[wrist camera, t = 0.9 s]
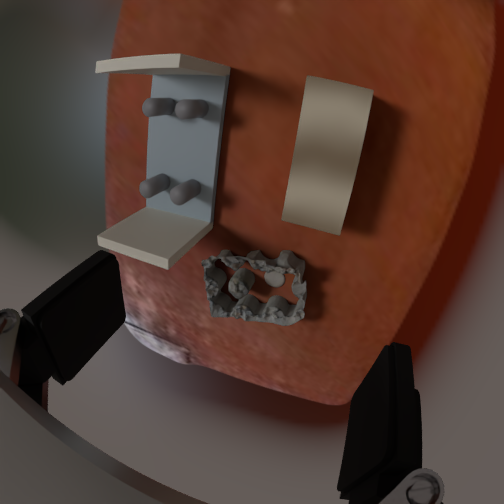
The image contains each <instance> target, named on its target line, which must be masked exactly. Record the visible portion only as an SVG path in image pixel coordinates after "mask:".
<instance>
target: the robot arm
mask: <svg viewBox="0 0 504 504" xmlns="http://www.w3.org/2000/svg"><path fill="white" fill-rule="evenodd" d="M21 311H22V313H23V317H20V315H19V313H18V312H17V311H16V310H14V309H9V308H7V309H2V310H0V504H208V503H206V502H203V501H200V500H198V499H195V498H193V497H190V496H188V495H185V494H183V493H181V492H178V491H176V490H174V489H172V488H170V487H167V486H165V485H163V484H161V483H159V482H157V481H155V480H153V479H151V478H149V477H147V476H145V475H143V474H141V473H139V472H137V471H135V470H134V469H132V468H130V467H128V466H126V465H125V464H123V463H121V462H119V461H118V460H116V459H114V458H113V457H111V456H109V455H108V454H106V453H104V452H103V451H101V450H100V449H98V448H97V447H95V446H94V445H92V444H90V443H89V442H87V441H86V440H84V439H83V438H82V437H80V436H79V435H77V434H76V433H74V432H73V431H72V430H70V429H69V428H68V427H66V426H65V425H64V424H62V423H61V422H60V421H58V420H57V419H56V418H54V417H53V416H52V415H51V414H49V413H48V379H49V378H50V377H51V376H52V377H53V379H55V380H56V381H57V382H59V383H60V384H62V385H64V384H65V383H66V381H70V380H72V379H73V378H74V377H75V375H76V374H77V373H78V372H79V371H80V370H81V369H82V368H83V367H84V365H85V364H86V363H87V362H88V361H89V360H90V359H91V358H92V357H93V355H94V354H95V353H96V352H97V351H98V350H99V349H100V348H101V347H102V346H103V345H104V344H105V342H106V341H107V340H108V339H109V338H110V337H111V336H112V335H113V334H114V333H115V332H116V331H117V330H118V329H119V328H120V326H121V325H122V324H123V323H124V321H125V318H126V313H125V307H124V300H123V293H122V286H121V279H120V270H119V263H118V261H117V260H116V257H115V255H113V254H111V253H108V252H106V251H103V250H100V251H98V252H96V253H95V254H93V255H92V256H91V257H90V258H88V259H86V260H85V261H84V262H82V263H81V264H80V265H78V266H77V267H75V268H74V269H73V270H71V271H70V272H69V273H67V274H66V275H65V276H63V277H62V278H61V279H59V280H58V281H57V282H55V283H54V284H53V285H52V286H51V287H49V288H48V289H46V290H45V291H44V292H43V293H41V294H40V295H39V296H38V297H36V298H35V299H34V300H33V301H32V302H30V303H29V304H28V305H27V306H25V307H24V308H23V309H22V310H21ZM337 490H338V491H341V495H340V499H346V500H349V504H443V503H442V500H443V496H444V484H443V481H442V479H441V478H440V476H439V475H438V474H437V473H436V472H434V471H433V470H430V469H427V468H424V469H422V421H421V404H420V394H419V392H418V390H416V389H415V388H414V377H413V365H412V356H411V349H410V347H409V346H408V345H404V344H399V343H395V342H393V343H391V345H390V346H388V345H385V346H384V348H383V349H382V351H381V353H380V354H379V356H378V358H377V359H376V361H375V362H374V364H373V366H372V367H371V369H370V370H369V372H368V373H367V375H366V377H365V378H364V380H363V381H362V383H361V384H360V386H359V387H358V389H357V390H356V391H355V393H354V395H353V397H352V400H351V405H350V414H349V421H348V428H347V435H346V441H345V447H344V453H343V459H342V464H341V470H340V475H339V480H338V485H337Z"/></svg>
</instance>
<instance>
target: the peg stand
mask: <svg viewBox="0 0 504 504" xmlns="http://www.w3.org/2000/svg"><path fill="white" fill-rule="evenodd" d="M230 69H231V67H229V66H225V65H222V64H218V63H215V62H211V61H208V60H204V59H200V58H196V57H192V56H188V55H184V54H161V55H147V56H135V57H126V58H118V59H110V60H103V61H97V63H96V72H95V73H129V74H148V75H153V80H152V90H151V98H148V99H146V100H145V101H144V103H143V106H142V110H143V113H144V114H145V115H146V116H147V117H149V128H148V148H147V180H145V181H142V182H141V184H140V187H139V189H140V193H141V194H142V196H143V197H145V198H146V207H145V208H143V209H141V210H140V211H138V212H136V213H134V214H133V215H131V216H129V217H128V218H126V219H124V220H122V221H121V222H119V223H117V224H116V225H114V226H112V227H111V228H109V229H107V230H106V231H105V232H103V233H101V234H99V235H98V236H97V238H98V244H99V246H102V247H105V248H107V249H110V250H113V251H116V252H119V253H121V254H124V255H127V256H130V257H133V258H136V259H139V260H141V261H144V262H147V263H150V264H153V265H156V266H159V267H162V268H165V269H170V268H171V267H172V266H173V265H174V264H175V263H176V262H177V261H178V260H179V259H180V258H181V257H182V256H183V255H184V254H185V253H187V252H188V251H189V250H190V249H191V248H192V247H193V246H194V245H195V244H196V243H197V242H198V241H200V240H201V239H202V238H203V237H204V236H205V235H206V234H207V233H208V232H209V231H210V230H212V229H213V219H214V208H215V197H216V187H217V177H218V167H219V158H220V149H221V140H222V131H223V123H224V114H225V106H226V99H227V91H228V84H229V76H230Z"/></svg>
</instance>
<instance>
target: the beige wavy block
mask: <svg viewBox="0 0 504 504" xmlns="http://www.w3.org/2000/svg"><path fill="white" fill-rule="evenodd" d="M373 91H374V90H371V89H367V88H363V87H359V86H355V85H351V84H347V83H342V82H338V81H333V80H329V79H324V78H319V77H313V76H308V75H307V79H306V85H305V91H304V97H303V103H302V109H301V115H300V121H299V126H298V132H297V138H296V143H295V149H294V155H293V160H292V166H291V171H290V177H289V182H288V187H287V193H286V198H285V203H284V209H283V214H282V219H281V220H283V221H287V222H290V223H294V224H298V225H302V226H306V227H310V228H313V229H317V230H321V231H324V232H328V233H332V234H335V235H339V236H340V233H341V229H342V225H343V222H344V218H345V215H346V211H347V207H348V203H349V200H350V196H351V192H352V188H353V184H354V180H355V176H356V172H357V168H358V163H359V159H360V155H361V150H362V146H363V141H364V137H365V132H366V127H367V122H368V117H369V112H370V107H371V102H372V96H373Z"/></svg>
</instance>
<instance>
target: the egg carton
mask: <svg viewBox="0 0 504 504" xmlns="http://www.w3.org/2000/svg"><path fill="white" fill-rule="evenodd" d="M217 259H221V262H224V263H225V264H226V266H228V267H230V268H232V269H233V270H234V271H236V272H235V274H234V275H233V277H232V278H231V279H230V281H229V292H230V293H231V294H232V295H233V296H234V297H235V298H237V299H239V301H238V302H234V301H232V300H231V298H230V297H229V296H228V295H227V294H225V293H222V292H221V288H222V287H223V285H224V284H225V282H226V280H227V276H226V274H225V272H224V271H223V270H222V269H220V268H217V267H215V264H214V263H215V261H216V260H217ZM246 260H248V261H249V263H250V265H251V266H252V267H253V268H254V269H260V270H261V271H267V272H266V273H265V275H264V278H265V281H266V282H267V284H269V285H270V286H273V287H280V286H282V285H283V284H284V282H285V276H284V275H283V274H286V273H291V274H294V275H295V278H294V281H293V284H292V291H293V293H294V295H295V296H297V297H298V298H299V300H298V303H297V305H289V304H288V302H287V300H286V299H285V298H283V297H281V296H278V295H275V296H272V297H270V299H269V300H268V302H267V303H266V304H265V303H259V301H258V300H257V298H256V297H255V296H253V295H250V294H248V293H249V291H250V289H251V287H252V285H253V284H254V282H255V276H254V274H253V273H252V272H251V271H250V270H248V269H246V268H240V267H241V266H242V265H243V264H244V263H245V261H246ZM202 266H204V281H205V282H206V291H207V300H209V301H210V312H211V316H212V317H235V318H236V319H239V318H243V319H244V320H245V321H258V322H270V323H275V324H279V325H283V326H288V325H291V324H294V323H296V322H297V321H299V320H301V319H303V318H304V315H305V313H304V311H303V309H304V305H305V301H306V297H307V289H306V280H305V281H302V276H303V274H304V270H305V261H304V260H301V259H299V258H297V257H296V256H295V255H294V254H293V251H290V250H283V251H282V252H280V256H279V257H278V258H276V259H268V258H266V257H264V256H263V255H262V253H261V251H260V250H256V251H251V252H250V253H248V254H247V256H246V257H241V256H233V254H232V253H231V251H230V250H222V251H221V252H220V254H219V255H218V256H216V257H214V256H210V257H209V259H207V260H202ZM239 268H240V269H239Z"/></svg>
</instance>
